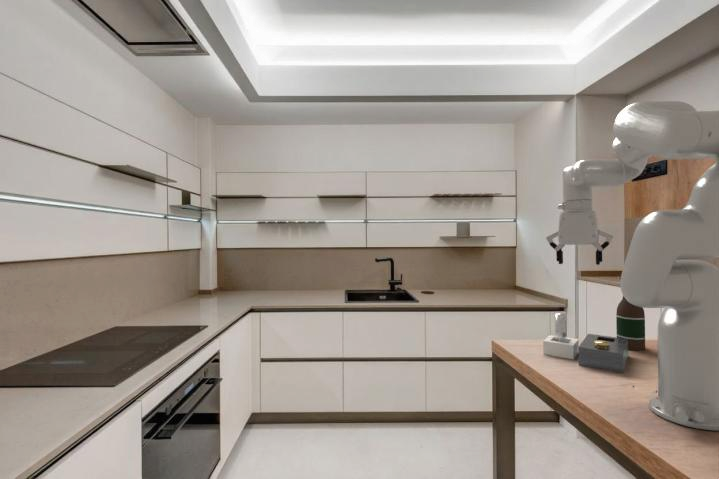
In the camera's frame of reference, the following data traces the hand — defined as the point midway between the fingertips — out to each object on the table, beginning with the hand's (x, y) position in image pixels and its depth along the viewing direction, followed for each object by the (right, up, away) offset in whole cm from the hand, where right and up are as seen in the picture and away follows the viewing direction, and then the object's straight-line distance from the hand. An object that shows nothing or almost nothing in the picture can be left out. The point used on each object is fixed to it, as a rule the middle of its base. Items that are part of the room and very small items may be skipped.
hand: (578, 264), depth 111 cm
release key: (+1, -27, -9) cm, 29 cm away
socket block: (+4, -28, -6) cm, 29 cm away
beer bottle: (+20, -28, +6) cm, 35 cm away
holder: (-5, -28, +2) cm, 29 cm away
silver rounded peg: (-5, -27, +2) cm, 28 cm away
